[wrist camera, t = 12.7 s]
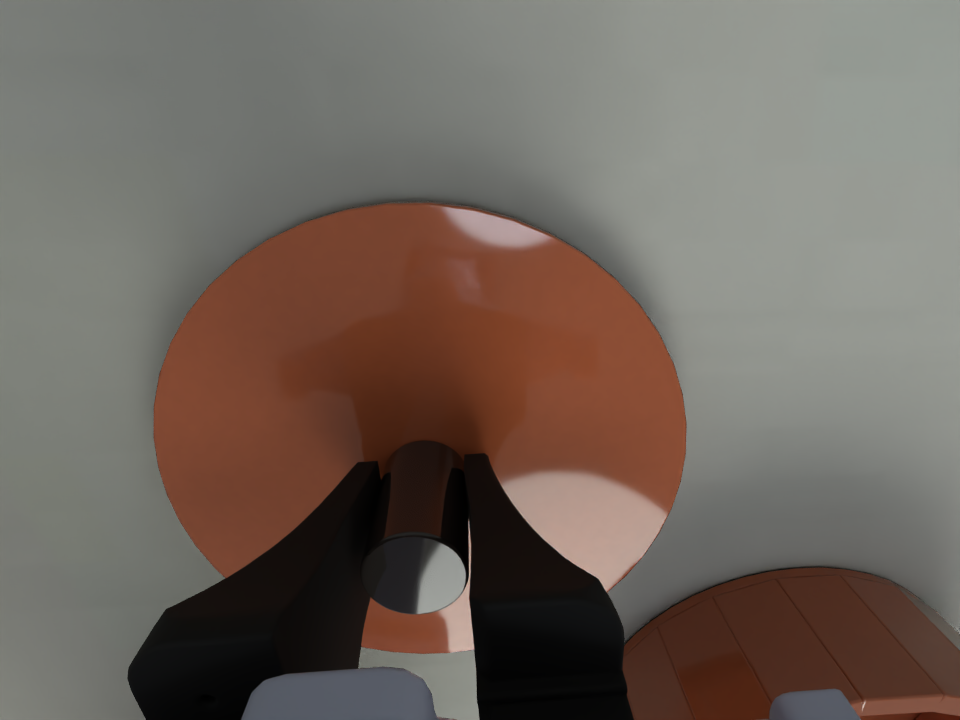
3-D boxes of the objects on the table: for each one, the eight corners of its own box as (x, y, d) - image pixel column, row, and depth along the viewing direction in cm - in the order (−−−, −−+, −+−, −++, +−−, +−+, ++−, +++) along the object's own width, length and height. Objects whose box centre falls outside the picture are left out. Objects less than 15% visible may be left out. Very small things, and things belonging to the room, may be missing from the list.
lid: (102, 517, 17) (-33, 657, 12) (312, 63, 12) (216, 10, 7) (494, 679, 21) (503, 832, 16) (778, 386, 16) (909, 487, 11)
